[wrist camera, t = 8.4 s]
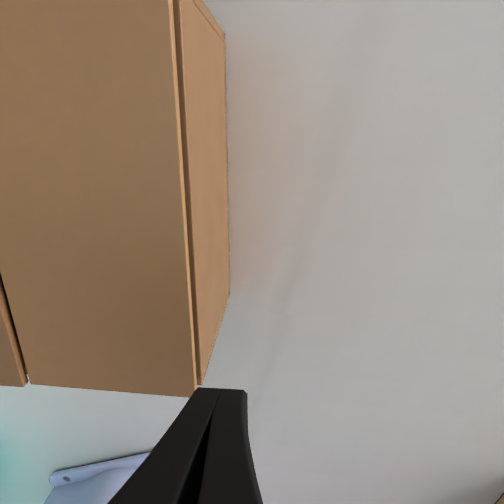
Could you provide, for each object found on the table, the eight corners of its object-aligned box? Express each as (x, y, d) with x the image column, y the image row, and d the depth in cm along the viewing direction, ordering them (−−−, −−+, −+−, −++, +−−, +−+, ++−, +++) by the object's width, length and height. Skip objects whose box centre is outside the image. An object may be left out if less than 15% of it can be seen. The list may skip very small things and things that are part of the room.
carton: (224, 33, 15) (169, -51, 8) (230, 293, 20) (198, 399, 12) (-48, 36, 16) (-330, -35, 9) (16, 284, 21) (-135, 378, 13)
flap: (170, -42, 8) (166, -48, 8) (197, 392, 13) (195, 398, 12) (-73, -32, 9) (-85, -37, 9) (35, 378, 13) (30, 384, 13)
